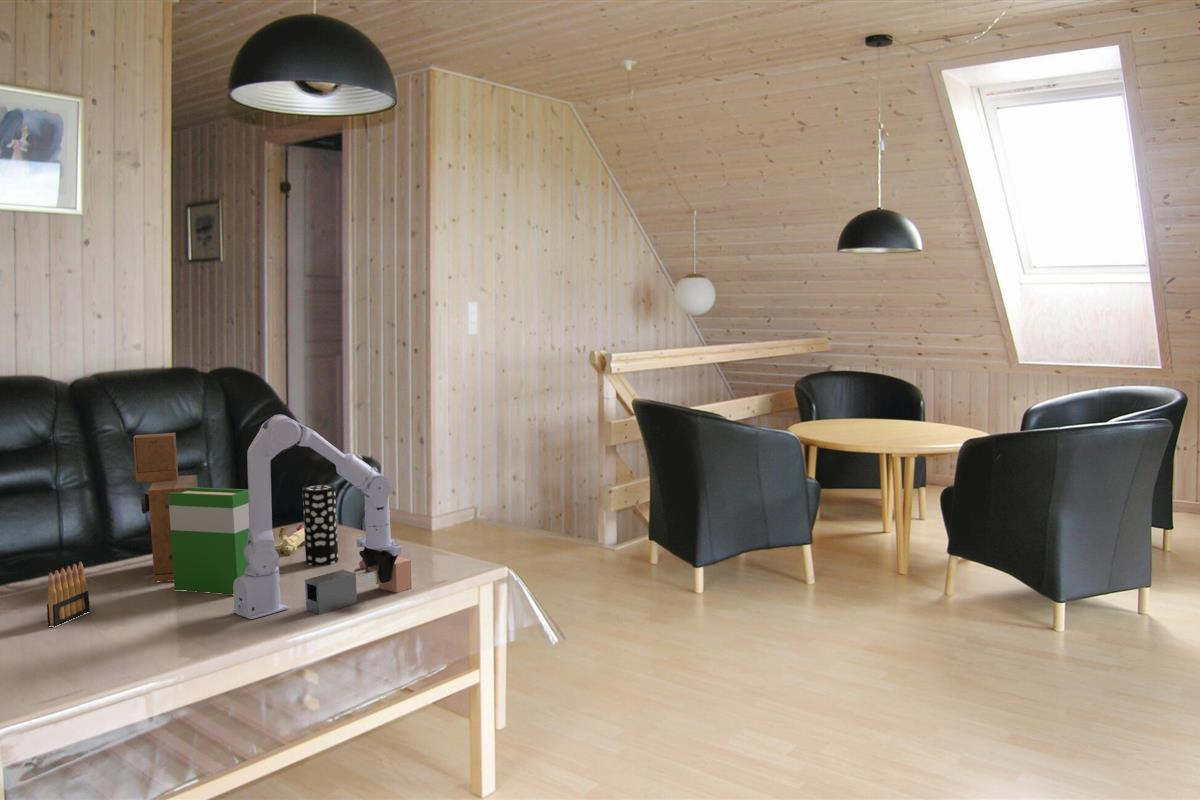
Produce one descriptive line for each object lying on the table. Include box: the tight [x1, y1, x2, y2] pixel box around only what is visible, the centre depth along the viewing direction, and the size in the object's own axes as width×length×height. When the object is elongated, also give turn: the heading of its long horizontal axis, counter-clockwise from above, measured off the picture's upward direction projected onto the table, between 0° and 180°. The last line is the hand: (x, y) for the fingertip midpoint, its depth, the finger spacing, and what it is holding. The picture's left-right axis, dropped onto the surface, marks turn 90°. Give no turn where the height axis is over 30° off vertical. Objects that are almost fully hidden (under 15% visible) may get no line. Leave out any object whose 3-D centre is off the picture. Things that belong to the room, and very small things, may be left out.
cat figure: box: [274, 522, 305, 556], centre depth 279 cm, size 10×9×25 cm
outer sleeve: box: [304, 569, 358, 615], centre depth 221 cm, size 10×5×7 cm, turn 140°
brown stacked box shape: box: [132, 432, 199, 583], centre depth 252 cm, size 19×14×35 cm
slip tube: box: [353, 564, 392, 590], centre depth 229 cm, size 17×4×4 cm, turn 140°
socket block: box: [378, 556, 412, 594], centre depth 235 cm, size 4×7×7 cm, turn 50°
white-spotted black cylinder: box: [301, 484, 339, 567], centre depth 259 cm, size 8×8×20 cm
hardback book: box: [168, 486, 249, 595], centre depth 236 cm, size 18×7×24 cm, turn 75°
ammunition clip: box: [46, 561, 91, 627], centre depth 215 cm, size 11×2×12 cm, turn 168°
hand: (380, 580), depth 232 cm, fingers closed on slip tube, 4 cm apart
